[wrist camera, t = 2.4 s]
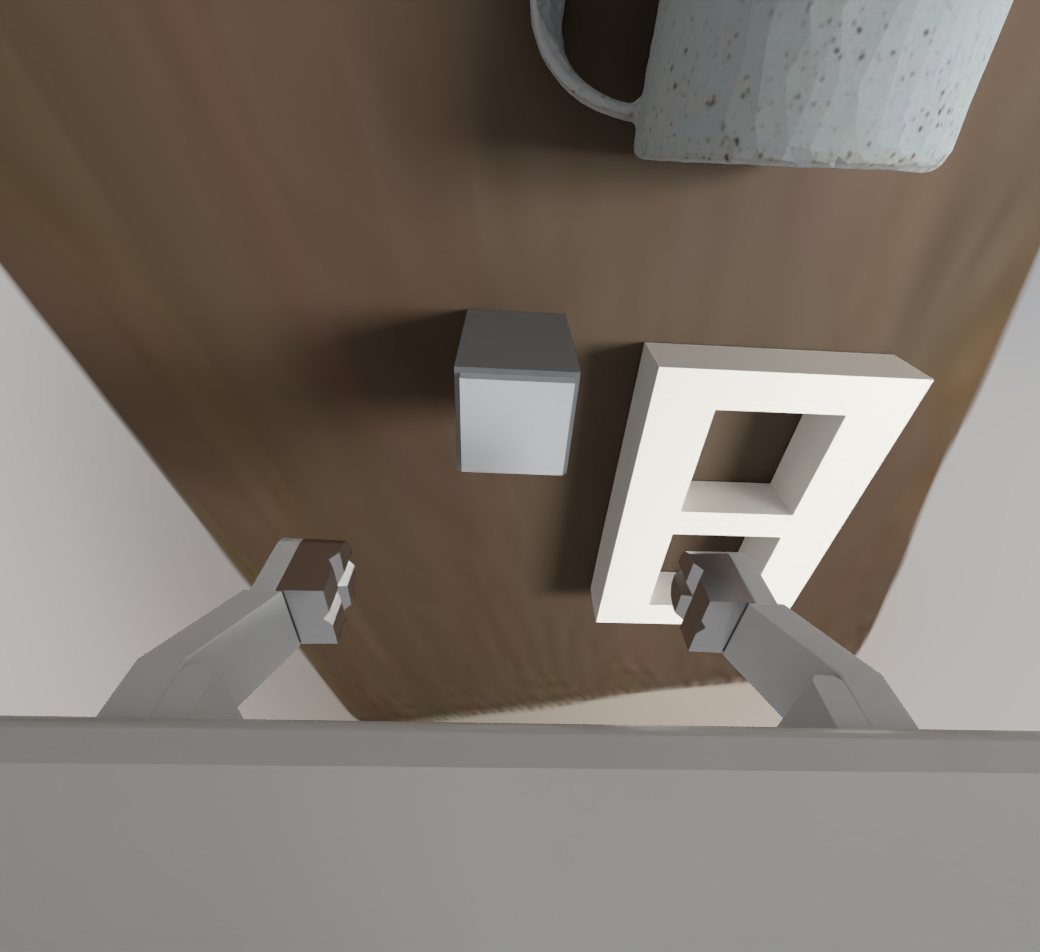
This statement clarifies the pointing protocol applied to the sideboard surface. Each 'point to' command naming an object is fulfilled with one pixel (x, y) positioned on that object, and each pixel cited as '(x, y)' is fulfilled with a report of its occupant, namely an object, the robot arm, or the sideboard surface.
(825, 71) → the ceramic mug
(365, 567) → the sideboard surface
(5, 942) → the robot arm
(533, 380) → the plug
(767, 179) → the sideboard surface
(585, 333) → the sideboard surface
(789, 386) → the outlet plate
